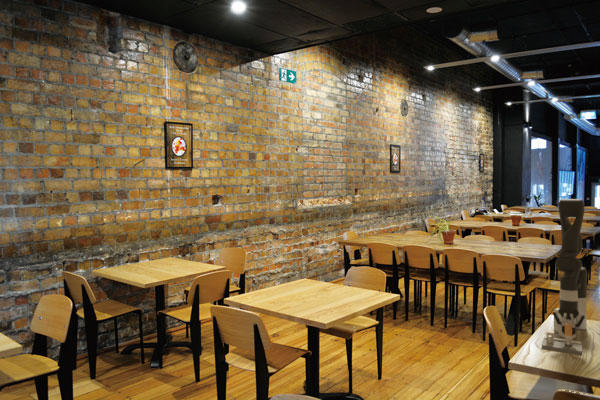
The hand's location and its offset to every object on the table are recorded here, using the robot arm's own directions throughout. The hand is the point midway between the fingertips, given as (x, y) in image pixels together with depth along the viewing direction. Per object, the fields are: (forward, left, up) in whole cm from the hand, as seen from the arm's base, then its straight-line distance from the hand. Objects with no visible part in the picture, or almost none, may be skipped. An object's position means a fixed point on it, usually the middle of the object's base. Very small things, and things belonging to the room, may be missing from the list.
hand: (568, 333), depth 213 cm
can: (-14, +8, -7) cm, 17 cm away
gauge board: (0, -3, -7) cm, 7 cm away
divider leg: (+1, -1, -5) cm, 5 cm away
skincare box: (-23, +10, -7) cm, 26 cm away
